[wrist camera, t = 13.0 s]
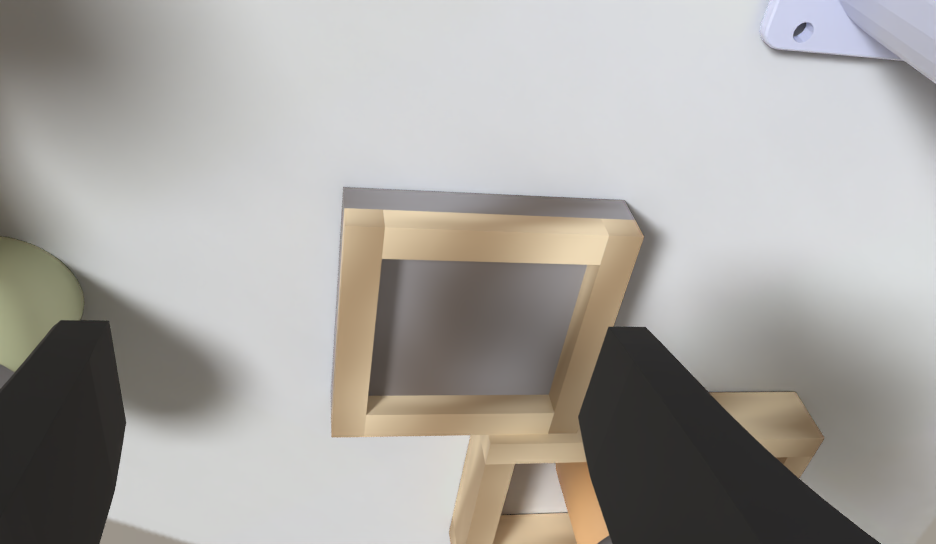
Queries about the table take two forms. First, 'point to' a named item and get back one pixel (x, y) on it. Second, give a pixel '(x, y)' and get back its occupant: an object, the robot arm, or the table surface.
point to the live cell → (582, 504)
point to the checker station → (496, 338)
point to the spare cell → (31, 300)
